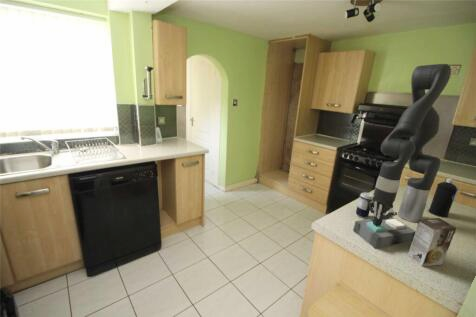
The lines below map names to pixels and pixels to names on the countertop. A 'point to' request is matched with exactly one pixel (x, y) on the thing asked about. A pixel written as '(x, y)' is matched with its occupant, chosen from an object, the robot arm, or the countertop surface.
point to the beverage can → (363, 205)
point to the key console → (383, 234)
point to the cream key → (395, 223)
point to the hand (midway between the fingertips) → (376, 224)
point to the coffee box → (431, 241)
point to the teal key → (376, 227)
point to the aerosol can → (443, 198)
